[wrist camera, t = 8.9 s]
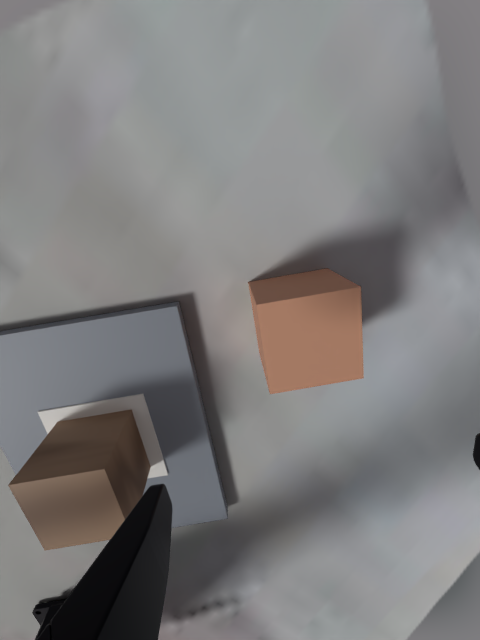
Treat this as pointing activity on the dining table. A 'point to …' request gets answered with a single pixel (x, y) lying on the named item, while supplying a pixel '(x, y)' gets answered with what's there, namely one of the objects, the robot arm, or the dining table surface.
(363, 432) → the dining table surface
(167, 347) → the board
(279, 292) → the terracotta cube
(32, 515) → the walnut cube
